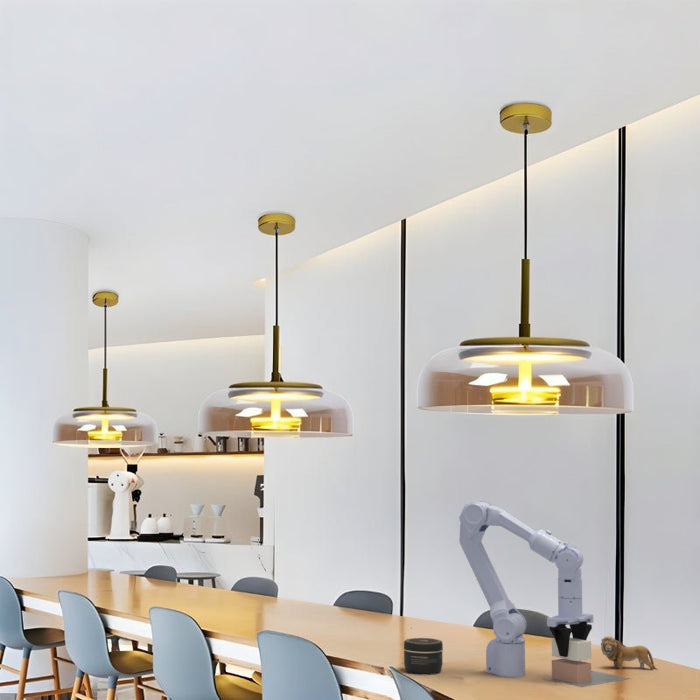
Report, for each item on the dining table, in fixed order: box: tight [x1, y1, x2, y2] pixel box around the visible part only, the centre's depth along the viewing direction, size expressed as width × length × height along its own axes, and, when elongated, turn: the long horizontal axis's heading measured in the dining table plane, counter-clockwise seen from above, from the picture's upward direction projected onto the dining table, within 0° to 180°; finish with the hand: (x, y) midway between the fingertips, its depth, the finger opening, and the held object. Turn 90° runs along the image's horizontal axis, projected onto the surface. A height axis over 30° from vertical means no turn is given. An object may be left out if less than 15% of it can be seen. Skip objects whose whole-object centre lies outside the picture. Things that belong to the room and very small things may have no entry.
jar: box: [403, 637, 444, 675], centre depth 254 cm, size 10×10×8 cm
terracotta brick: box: [551, 658, 592, 684], centre depth 240 cm, size 8×5×4 cm, turn 36°
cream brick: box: [551, 637, 592, 662], centre depth 241 cm, size 8×5×4 cm, turn 36°
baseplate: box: [542, 670, 632, 688], centre depth 242 cm, size 12×18×1 cm, turn 126°
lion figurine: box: [600, 635, 658, 671], centre depth 256 cm, size 15×5×9 cm, turn 94°
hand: (571, 655), depth 241 cm, fingers closed on cream brick, 5 cm apart
